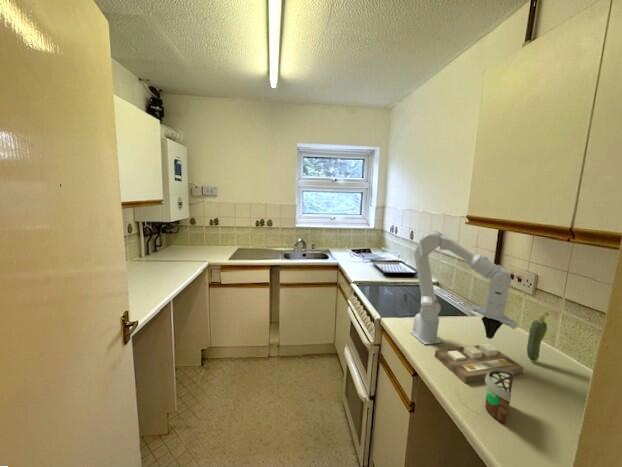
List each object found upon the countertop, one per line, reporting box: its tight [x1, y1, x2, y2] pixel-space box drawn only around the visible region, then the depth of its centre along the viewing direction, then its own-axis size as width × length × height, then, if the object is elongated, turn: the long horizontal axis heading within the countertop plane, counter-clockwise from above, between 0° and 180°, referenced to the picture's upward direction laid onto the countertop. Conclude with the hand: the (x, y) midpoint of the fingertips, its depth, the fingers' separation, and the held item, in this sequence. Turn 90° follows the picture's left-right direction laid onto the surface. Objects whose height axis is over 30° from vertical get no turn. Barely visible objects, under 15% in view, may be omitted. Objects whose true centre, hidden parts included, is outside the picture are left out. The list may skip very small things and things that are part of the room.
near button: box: [447, 350, 466, 361], centre depth 96 cm, size 4×4×2 cm
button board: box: [434, 344, 525, 384], centre depth 96 cm, size 14×24×3 cm, turn 105°
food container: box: [484, 369, 515, 426], centre depth 76 cm, size 12×6×10 cm, turn 141°
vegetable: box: [526, 311, 549, 364], centre depth 98 cm, size 4×4×20 cm
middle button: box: [463, 345, 482, 359], centre depth 98 cm, size 4×4×2 cm
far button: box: [478, 343, 499, 357], centre depth 100 cm, size 4×4×2 cm
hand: (489, 337), depth 99 cm, fingers closed
